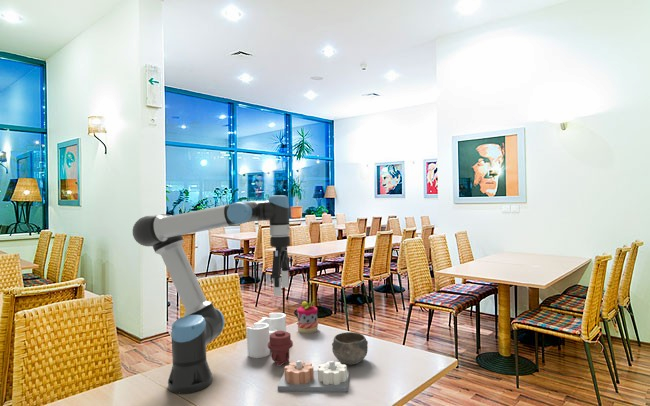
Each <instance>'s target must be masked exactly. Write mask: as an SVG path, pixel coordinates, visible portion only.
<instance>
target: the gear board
mask: <svg viewBox="0 0 650 406" xmlns="http://www.w3.org/2000/svg"><path fill="white" fill-rule="evenodd" d="M302 361H303V360H296V362H295V363H296V369H302ZM328 362H329V368H330V369H331V370H333V369H335V362H336V361H335V360H330V361H328ZM349 378H350V371H349V370H347V380H346V381H345V382H341V383H340V384H339V385H334V384H329V385H325V384H323V381H322V382H319V380H318V370H314V378H313V379H310V382H309V383H306V384H305V383H300V384H299V385H294V383H292V382H291V383H288V382H286V379H285V371H284V372H283V374H282V376H281V379H280V380H279V382H278V385H277V391H278V392H279V391H280V392H281V391H284V392H285V391H286V392H326V393H327V392H328V393H329V392H331V393H332V392H333V393H348V388H349V381H350V380H349Z"/></svg>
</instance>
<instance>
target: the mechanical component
mask: <svg viewBox="0 0 650 406" xmlns="http://www.w3.org/2000/svg"><path fill="white" fill-rule="evenodd" d="M293 346H294V342H293V340H292V339H291V333H290V332H288V331H286V332H284V331H276V332H274V333H272V334H270V341H269V342H268V348H269V349H270V351H271V360H272V362H275V363H276V365H277V366H278V367H279V366H281V365H283V364H286V363H289V362H290V349H291V348H292V347H293Z"/></svg>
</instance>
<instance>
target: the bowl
mask: <svg viewBox="0 0 650 406" xmlns="http://www.w3.org/2000/svg"><path fill="white" fill-rule="evenodd" d="M368 344H369V342H368V340H367V338H366V337H365V335H364V334H362V333H359V332H352V331H351V332H350V331H349V332H347V331H346V332H341V333H338V334H336V335H335V336H334V337H333V340H332V343H331V346H332V347H331V348H332V353H333V355H334V357H335V358H336V359H337V360H338V362H341V364H342V365H344V364H345V365H346V366H349V365H351V366H352V365H357V364H359V363H361V362H362V361H363V360H364V359H365V358H366V356H367V354H368V351H369V350H368V349H369V348H368V346H369V345H368Z"/></svg>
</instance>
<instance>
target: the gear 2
mask: <svg viewBox="0 0 650 406" xmlns="http://www.w3.org/2000/svg"><path fill="white" fill-rule="evenodd" d="M329 362H330V361H326V362H325V363H324V364H323V363H320V364H319V365H318V368H317V371H318V380H319V382H322V381H323V384H325V385H329V384H334V385H339V384H340V383H341V382H345V381H346V380H347V371H348V370H347V369H348V368H347V366H348V365H347V364H343V363H342V362H340V361H335V369H333V370H331V369H330V368H329Z"/></svg>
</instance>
